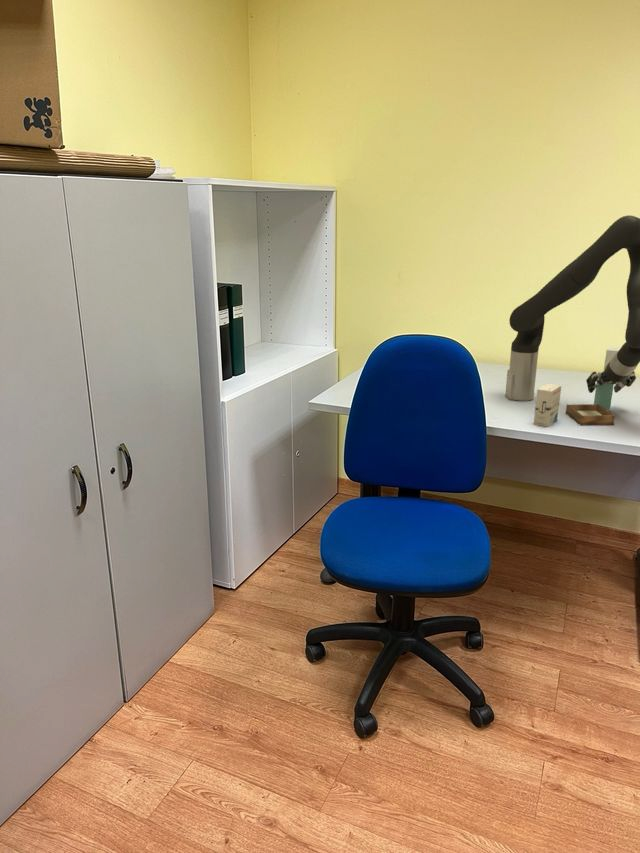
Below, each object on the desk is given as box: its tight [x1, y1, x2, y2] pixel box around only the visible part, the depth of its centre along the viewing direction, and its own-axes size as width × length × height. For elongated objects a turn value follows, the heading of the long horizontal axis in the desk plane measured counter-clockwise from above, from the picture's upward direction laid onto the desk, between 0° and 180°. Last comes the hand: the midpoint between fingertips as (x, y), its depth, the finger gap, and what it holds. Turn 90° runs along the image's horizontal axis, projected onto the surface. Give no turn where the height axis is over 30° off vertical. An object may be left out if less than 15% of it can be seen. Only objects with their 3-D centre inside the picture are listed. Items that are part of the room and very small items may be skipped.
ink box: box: [533, 383, 562, 427], centre depth 203 cm, size 9×5×12 cm, turn 141°
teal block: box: [593, 371, 615, 411], centre depth 217 cm, size 4×4×12 cm
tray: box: [565, 403, 616, 426], centre depth 207 cm, size 11×13×3 cm
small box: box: [602, 345, 622, 385], centre depth 250 cm, size 8×6×13 cm
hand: (602, 390), depth 218 cm, fingers open, 8 cm apart
